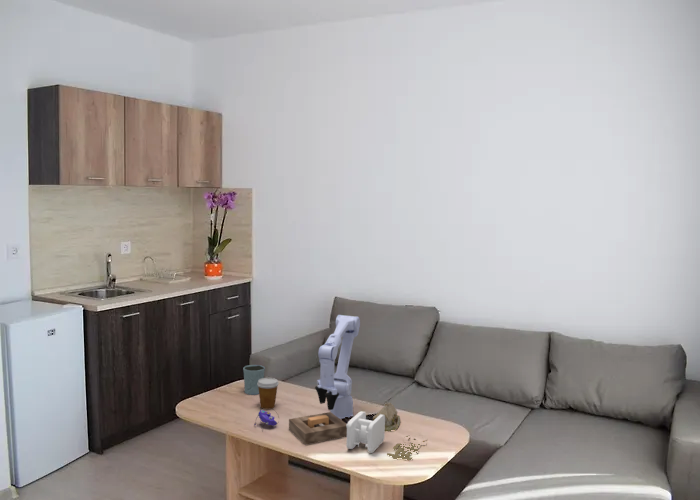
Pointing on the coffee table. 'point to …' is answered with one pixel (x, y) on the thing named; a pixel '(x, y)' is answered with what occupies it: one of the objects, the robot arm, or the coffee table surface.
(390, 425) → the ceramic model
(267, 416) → the game controller
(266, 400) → the disposable coffee cup
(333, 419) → the brown piece
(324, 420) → the tan rectangular block
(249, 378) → the teal cup
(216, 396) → the coffee table surface
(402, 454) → the lettering
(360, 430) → the cable organizer
